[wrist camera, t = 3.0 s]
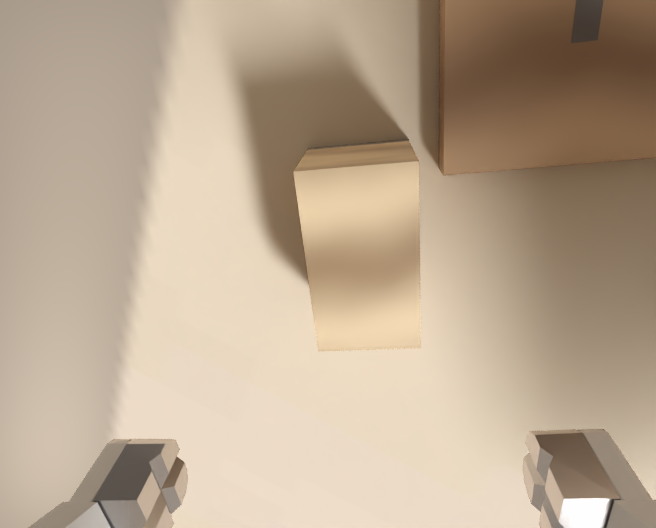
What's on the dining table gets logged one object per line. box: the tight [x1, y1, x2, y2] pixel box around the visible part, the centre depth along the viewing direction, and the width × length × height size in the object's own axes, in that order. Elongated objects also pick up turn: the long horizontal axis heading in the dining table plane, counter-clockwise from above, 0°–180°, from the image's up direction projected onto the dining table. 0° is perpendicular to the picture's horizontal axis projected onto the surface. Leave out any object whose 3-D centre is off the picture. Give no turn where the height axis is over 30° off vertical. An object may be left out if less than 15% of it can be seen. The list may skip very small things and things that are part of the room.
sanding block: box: [293, 139, 421, 351], centre depth 21 cm, size 9×5×5 cm, turn 6°
